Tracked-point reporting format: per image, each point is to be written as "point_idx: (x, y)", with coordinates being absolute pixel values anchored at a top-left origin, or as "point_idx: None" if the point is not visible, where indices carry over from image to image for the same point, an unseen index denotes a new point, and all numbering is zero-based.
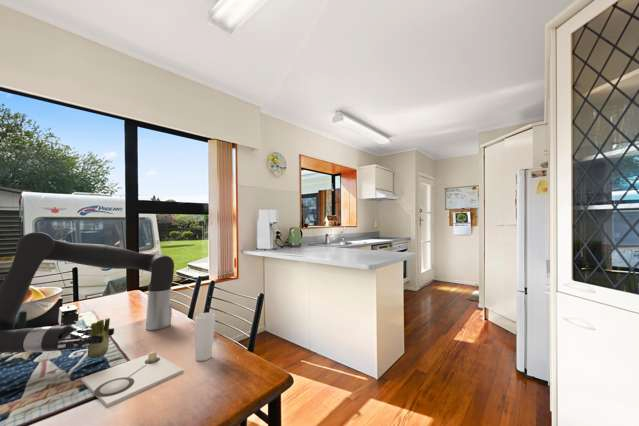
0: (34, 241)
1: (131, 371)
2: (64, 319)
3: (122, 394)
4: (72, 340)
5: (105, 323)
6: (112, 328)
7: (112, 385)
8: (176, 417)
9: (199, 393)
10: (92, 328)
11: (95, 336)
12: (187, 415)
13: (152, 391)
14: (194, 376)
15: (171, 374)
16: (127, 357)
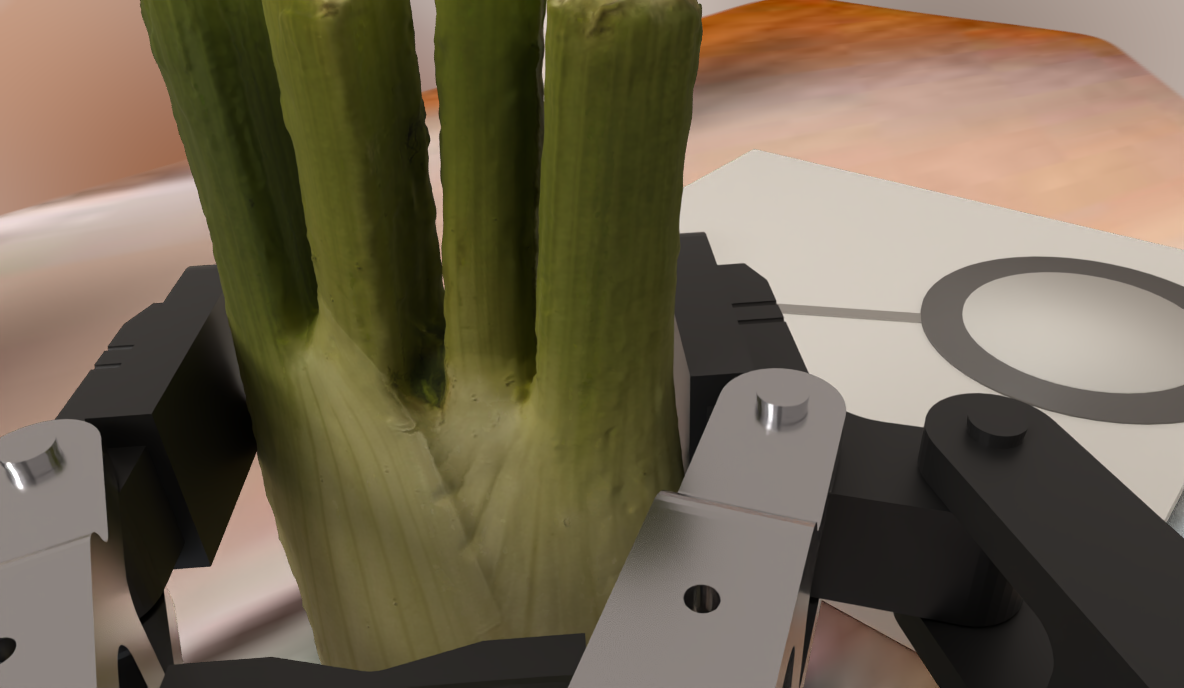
0: None
1: (807, 339)
2: None
3: (1147, 258)
4: (1168, 580)
5: (266, 112)
6: (209, 265)
7: (1081, 342)
8: (1163, 100)
9: (959, 93)
10: (682, 139)
11: (721, 288)
12: (1131, 85)
13: (1007, 201)
14: (800, 130)
15: (824, 168)
16: None
